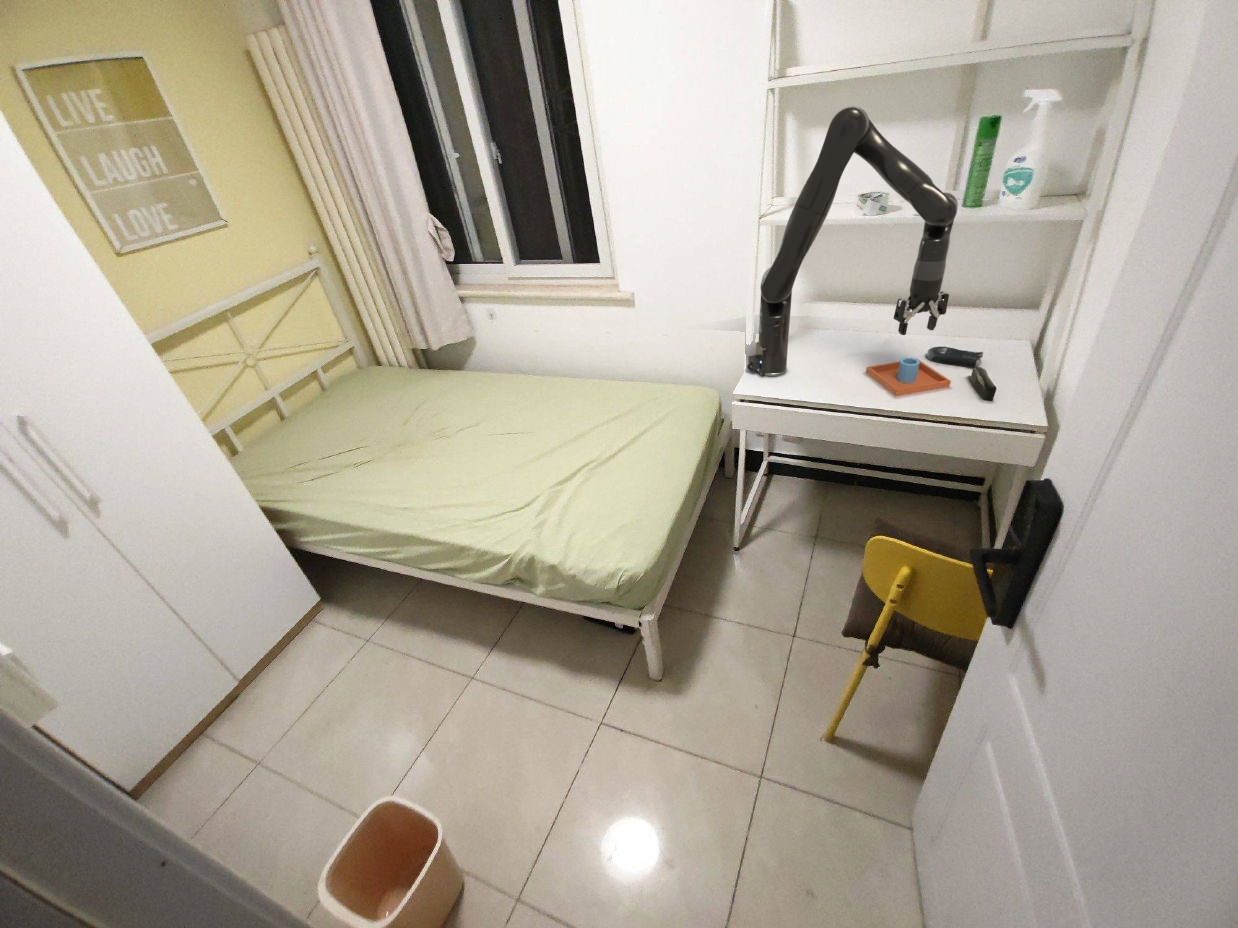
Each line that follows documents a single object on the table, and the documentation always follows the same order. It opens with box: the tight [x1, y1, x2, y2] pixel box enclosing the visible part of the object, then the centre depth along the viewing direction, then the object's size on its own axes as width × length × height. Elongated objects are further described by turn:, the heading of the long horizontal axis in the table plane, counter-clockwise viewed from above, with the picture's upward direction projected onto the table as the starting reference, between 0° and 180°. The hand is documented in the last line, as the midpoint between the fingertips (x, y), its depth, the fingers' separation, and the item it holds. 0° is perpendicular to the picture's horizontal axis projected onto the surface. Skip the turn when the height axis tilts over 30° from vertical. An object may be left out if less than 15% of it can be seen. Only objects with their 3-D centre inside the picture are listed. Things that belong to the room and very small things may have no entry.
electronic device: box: [926, 345, 984, 369], centre depth 176 cm, size 9×6×15 cm
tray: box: [865, 358, 952, 397], centre depth 169 cm, size 17×17×2 cm
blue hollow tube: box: [897, 357, 921, 383], centre depth 167 cm, size 5×5×6 cm
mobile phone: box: [967, 366, 997, 402], centre depth 159 cm, size 5×3×15 cm
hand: (916, 331), depth 160 cm, fingers open, 8 cm apart
